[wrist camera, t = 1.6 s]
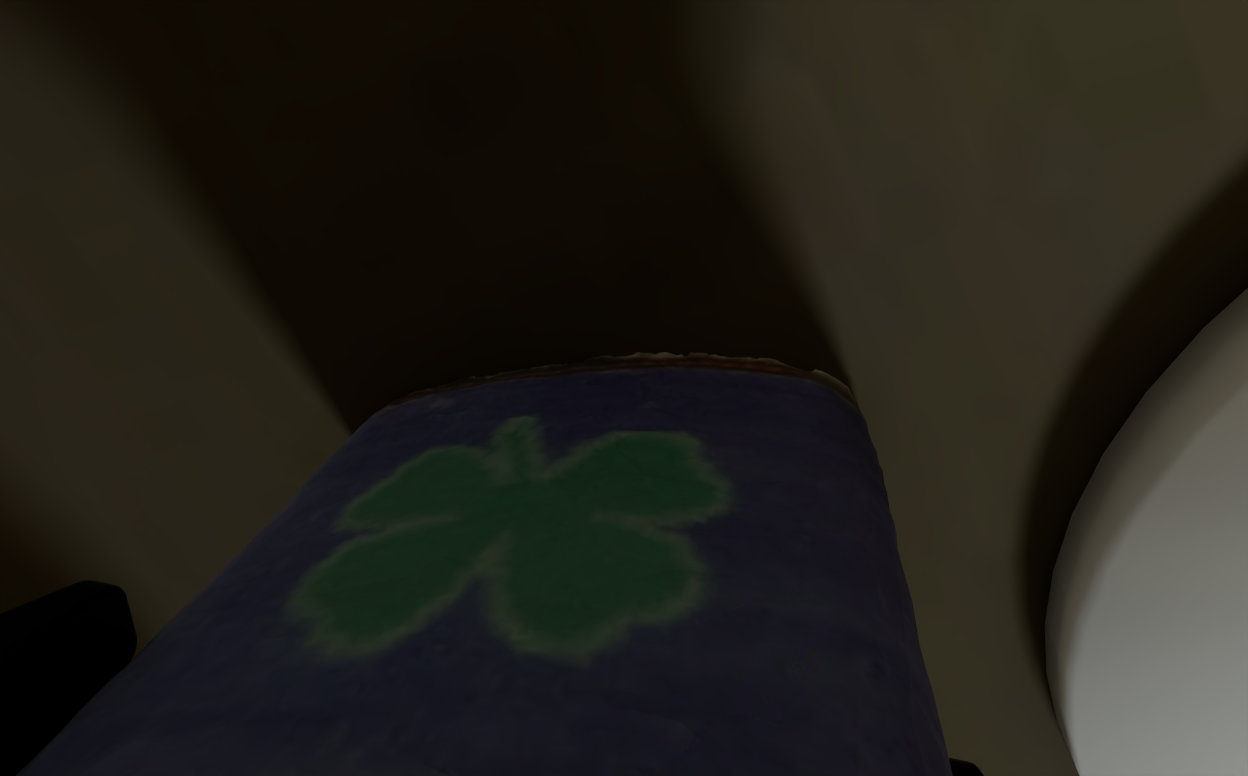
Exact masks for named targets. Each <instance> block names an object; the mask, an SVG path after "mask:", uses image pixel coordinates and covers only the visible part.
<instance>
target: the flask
mask: <svg viewBox="0 0 1248 776" xmlns="http://www.w3.org/2000/svg"><path fill="white" fill-rule="evenodd" d="M750 358H753V357H746V358H744V357H741V358H739V357H735V358H733V357H731V358H729V357H725V356H717V355H715V354H713V355H708V354H707V353H693V352H691V353H690V354H689V355H688V356H683V355H674V354H670V353H667V352H661V353H658V354H652V353H641V352H637V353H635V354H633V355H629V356H620V357H612V356H599V357H594V356H593V357H590V358H588V359H586V360H584V361H582V362H574V363H572V364H568V363H566V364H564V365H562V364H558V365H553V364H551V363H550V365H546V366H541V367H533V368H531V369H529V370H528V369H521V370H514V371H511V372H507V371H503V372H500V371H499V372H498V373H497V375H493V376H488V375H487V376H484V377H482V376H479V377H477V378H475V376H471V377H469V378H468V379H463V378H461V379H459V380H456V381H454V382H450V383H449V384H446V385H444V386H436V387H435V388H433V389H428V388H427V389H424V390H421V391H414V392H412V393H410V394H409V395H408V396H405V397H402V398H398V399H395V400H393V401H392V402H390V403H389V404H388V405H386V406H385V407H383V408H382V409H381V410H379V411H378V412H376V413H375V414H374V415H372V416H371V417H370V418H369V419H368V420H367V421H366V422H365V423H363V424H362V425H361V426H360V427H359V428H358V429H357V430H356V431H355V433H354V434H353V435H352V436H351V437H350V438H349V440H348V441H347V442H346V443H345V444H344V445H343V446H342V447H341V448H340V449H339V450H338V451H337V452H335V453H334V454H333V455H332V456H331V457H330V458H329V459H328V460H327V461H326V462H325V463H324V464H323V465H322V467H321V468H320V469H319V470H318V471H317V472H316V473H315V474H314V475H313V476H312V477H311V478H310V479H309V480H308V481H307V482H306V483H305V484H304V485H303V487H302V488H301V489H300V490H299V491H298V492H297V494H296V495H295V496H294V497H293V498H292V499H291V500H290V501H289V502H288V504H287V505H286V506H285V507H284V508H283V509H282V510H281V511H280V512H279V513H278V514H277V515H276V516H275V517H274V518H273V519H272V520H271V521H270V522H269V523H268V524H267V525H266V526H265V527H264V528H263V529H262V530H261V531H260V532H259V533H258V534H257V535H256V536H255V537H254V538H253V539H252V540H251V541H250V542H249V543H248V544H247V546H246V547H245V548H244V549H243V550H242V551H241V552H240V553H239V554H238V555H237V556H236V557H235V558H234V559H233V560H232V561H231V562H229V563H228V564H227V565H226V566H225V567H224V568H223V569H222V570H221V571H220V572H219V573H218V574H217V575H216V576H215V577H214V578H213V579H212V580H211V581H210V582H209V583H208V584H207V585H206V586H205V587H204V588H203V589H202V590H201V591H200V592H199V593H198V594H197V595H196V596H194V597H193V598H192V599H191V600H190V601H189V602H188V603H187V604H186V605H185V606H184V607H183V608H182V609H181V610H180V611H179V612H178V613H177V614H176V615H175V616H174V617H173V618H172V619H171V620H170V621H169V622H168V623H167V624H166V625H165V626H164V627H163V628H162V629H161V630H160V631H159V632H158V633H157V635H156V636H155V637H154V638H153V639H152V640H151V641H150V642H149V643H148V645H147V646H146V647H145V648H144V649H143V650H142V651H141V652H140V653H139V655H138V656H137V657H136V658H135V659H134V660H133V661H132V662H131V663H130V664H128V665H127V666H126V667H125V668H124V669H123V670H121V671H120V672H119V673H118V674H117V675H116V676H115V677H113V678H112V679H111V680H110V681H109V682H108V683H107V684H106V685H105V686H104V687H103V688H102V689H101V690H100V691H99V692H98V693H97V694H96V695H95V696H94V697H93V698H92V699H91V700H90V701H89V702H88V703H87V704H86V705H85V706H84V707H83V708H82V709H81V710H80V711H79V712H78V713H77V714H76V715H75V716H74V717H73V718H72V719H71V721H70V722H69V723H68V724H67V725H66V726H65V727H64V728H63V729H62V730H61V731H60V732H59V733H58V734H57V735H56V736H55V737H54V738H53V739H52V740H51V741H50V742H49V743H48V744H47V745H46V746H45V747H44V748H43V749H42V750H41V751H40V752H39V753H38V754H37V755H36V756H35V757H34V758H33V759H32V760H31V761H30V762H29V763H28V764H27V765H26V766H25V767H24V768H23V769H22V770H21V771H20V772H19V773H18V774H17V775H16V776H953V775H952V770H951V766H950V762H949V758H948V753H947V749H946V745H945V741H944V737H943V733H942V729H941V725H940V720H939V716H938V712H937V708H936V704H935V700H934V695H933V692H932V688H931V685H930V681H929V678H928V675H927V671H926V668H925V664H924V661H923V657H922V653H921V649H920V645H919V640H918V634H917V628H916V622H915V616H914V609H913V603H912V600H911V596H910V592H909V589H908V585H907V582H906V578H905V575H904V571H903V568H902V564H901V560H900V557H899V553H898V549H897V536H896V530H895V525H894V521H893V519H892V516H891V513H890V510H889V503H888V497H887V491H886V488H885V485H884V479H883V471H882V469H881V467H880V466H879V462H878V457H877V452H876V450H875V448H874V446H873V443H872V441H871V438H870V435H869V432H868V428H867V423H866V421H865V419H864V417H863V415H862V413H861V411H860V409H859V407H858V404H857V402H856V400H855V399H854V397H853V396H852V394H851V392H850V390H849V387H847V386H846V385H845V384H843V383H842V382H841V381H839V380H838V379H836V378H834V377H833V376H831V375H829V374H827V373H825V372H822V371H819V370H816V369H815V370H813V371H812V372H808V371H804V370H801V369H797V368H794V367H790V366H788V365H786V364H784V363H781V362H779V361H777V360H774V359H770V358H762V357H760V358H758V359H750Z"/></svg>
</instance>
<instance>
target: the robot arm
mask: <svg viewBox="0 0 1248 776" xmlns="http://www.w3.org/2000/svg"><path fill="white" fill-rule="evenodd" d="M136 646H137V635H136V631H135V627H134V624H133V620H132V616H131V612H130V608H129V604H128V600H127V596H126V594H125V592H124V591H123V590H122V589H121V588H120V587H118V586H116V585H111V584H106V583H102V582H97V581H81V582H78V583H75V584H72V585H70V586H68V587H65V588H63V589H60V590H58V591H55V592H53V593H50V594H48V595H45V596H43V597H40V598H38V599H35V600H33V601H31V602H28V603H26V604H23V605H21V606H18V607H16V608H13V609H11V610H8V611H6V612H3V613H1V614H0V776H16V775H17V774H18V773H19V772H20V771H21V770H22V769H23V768H24V767H25V766H26V765H27V764H28V763H29V762H30V761H31V760H32V759H33V758H34V757H35V756H36V755H37V754H38V753H39V752H40V751H41V750H42V749H43V748H44V747H45V746H46V745H47V744H48V743H49V742H50V741H51V740H52V739H53V738H54V737H55V736H56V735H57V734H58V733H59V732H60V731H61V730H62V729H63V728H64V727H65V726H66V725H67V724H68V723H69V722H70V721H71V719H72V718H73V717H74V716H75V715H76V714H77V713H78V712H79V711H80V710H81V709H82V708H83V707H84V706H85V705H86V704H87V703H88V702H89V701H90V700H91V699H92V698H93V697H94V696H95V695H96V694H97V693H98V692H99V691H100V690H101V689H102V688H103V687H104V686H105V685H106V684H107V683H108V682H109V681H110V680H111V679H112V678H113V677H115V676H116V675H117V674H118V673H119V672H120V671H121V670H123V669H124V668H125V667H126V666H127V665H128V664H129V663H130V661H131V660H132V658H133V655H134V653H135V650H136ZM949 762H950V766H951V770H952V775H953V776H985V774H984V773H983V772H982V771H981V769H979V768H978V767H977V766H976V765H975V764H973V763H971V762H967V761H962V760H958V759H953V758H949Z"/></svg>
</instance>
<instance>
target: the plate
mask: <svg viewBox="0 0 1248 776" xmlns="http://www.w3.org/2000/svg"><path fill="white" fill-rule="evenodd" d="M1045 649H1046V675H1047V679H1048V684H1049V688H1050V693H1051V698H1052V702H1053V707H1054V711H1055V716H1056V720H1057V722H1058V725H1059V727H1060V729H1061V732H1062V734H1063V737H1064V739H1065V742H1066V744H1067V746H1068V749H1069V751H1070V754H1071V756H1072V758H1073V761H1074V763H1075V766H1076V768H1077V771H1078V773H1079V775H1080V776H1248V288H1247V289H1246V290H1245V291H1244V292H1243V293H1241V294H1240V295H1239V296H1238V297H1237V298H1236V299H1235V300H1234V301H1233V302H1232V303H1230V304H1229V305H1228V306H1227V307H1226V308H1225V309H1224V310H1223V311H1222V312H1220V313H1219V314H1218V315H1217V316H1216V317H1215V318H1214V319H1213V320H1212V321H1210V322H1209V323H1208V324H1207V325H1206V326H1205V327H1204V328H1203V329H1202V330H1201V331H1200V332H1199V333H1198V335H1197V336H1196V337H1195V338H1194V339H1193V340H1192V341H1191V342H1190V344H1189V345H1188V346H1187V347H1186V348H1185V349H1184V350H1183V351H1182V352H1181V354H1180V355H1179V356H1178V357H1177V358H1176V359H1175V360H1174V361H1173V363H1172V364H1171V365H1170V366H1169V367H1168V368H1167V369H1166V370H1165V372H1164V373H1163V374H1162V375H1161V376H1160V377H1159V378H1158V379H1157V380H1156V382H1155V383H1154V384H1153V385H1152V386H1151V387H1150V388H1149V389H1148V391H1147V392H1146V393H1145V394H1144V396H1143V397H1142V399H1141V400H1140V402H1139V403H1138V404H1137V406H1136V407H1135V409H1134V410H1133V412H1132V413H1131V415H1130V416H1129V417H1128V419H1127V420H1126V422H1125V423H1124V425H1123V426H1122V427H1121V429H1120V430H1119V432H1118V433H1117V435H1116V436H1115V437H1114V439H1113V440H1112V442H1111V443H1110V445H1109V446H1108V448H1107V449H1106V450H1105V452H1104V453H1103V455H1102V457H1101V459H1100V461H1099V463H1098V465H1097V466H1096V468H1095V470H1094V472H1093V474H1092V476H1091V478H1090V480H1089V482H1088V484H1087V486H1086V488H1085V490H1084V492H1083V494H1082V496H1081V498H1080V500H1079V502H1078V503H1077V505H1076V507H1075V509H1074V511H1073V513H1072V516H1071V519H1070V522H1069V525H1068V528H1067V531H1066V534H1065V537H1064V540H1063V543H1062V546H1061V549H1060V552H1059V555H1058V558H1057V561H1056V564H1055V567H1054V570H1053V575H1052V581H1051V587H1050V594H1049V600H1048V607H1047V613H1046V620H1045Z"/></svg>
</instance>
